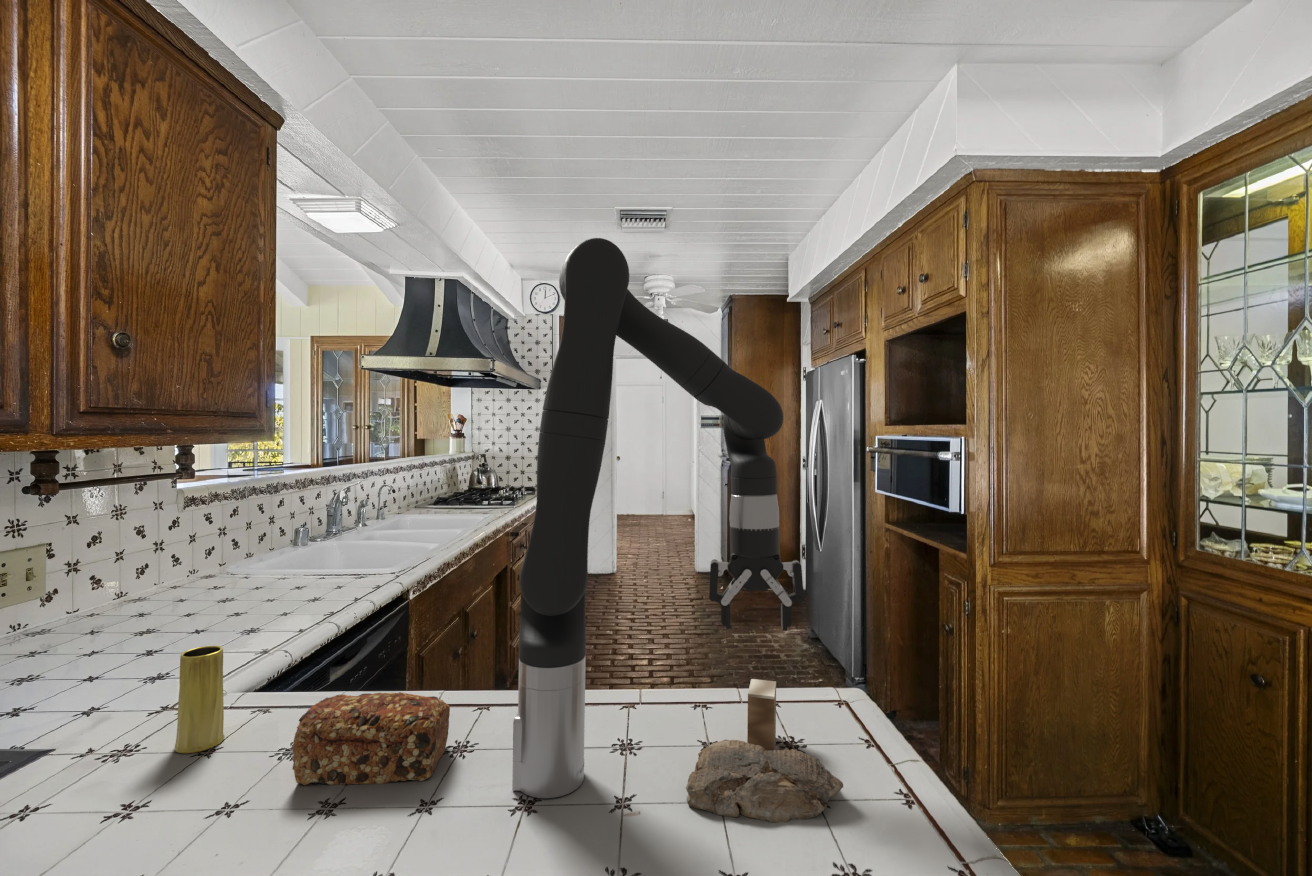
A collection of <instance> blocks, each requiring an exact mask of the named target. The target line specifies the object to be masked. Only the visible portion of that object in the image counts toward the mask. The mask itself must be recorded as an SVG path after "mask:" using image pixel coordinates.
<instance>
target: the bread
mask: <svg viewBox="0 0 1312 876" xmlns="http://www.w3.org/2000/svg"><path fill="white" fill-rule="evenodd" d="M450 709H451V707H450V705H449V704H448V703H447V702H445V701H444V700H443V699H441V698H440V699H439V697H438V696H424V695H420V694H419V695H418V694H412V693H407V692H401V691H399V692H375V693H370V692H369V693H361V694H360V695H348V694H336V695H333V696H330V697H325V698H324V699H322V700H319V701H318V702H317V703H315V704H313V705H312V706H310V707H309V709H307V711H306V712H305V713H304V714H302V715H301V716H300V718H299V719H298V722H299V724H298V725H297V727H296V732H295V733H294V738H293V745H292V754H293V755H292V762H293V765H292V770H293V774H294V779H295V783H297V784H301V785H303V786H308V785H310V784H312V783H313V784H314V783H320V784H324V785H325V784H327V785H331V786H333V785H340V786H344V785H379V784H381V785H382V784H383V785H385V784H388V783H392V782H395V783H396V782H399V781H401V782H406V781H410V780H411V781H420V782H422V781H425V780H427V779H430V778H431V777H432V776H433V774H434V772H435V771H436V768H437V765H438V763H439V760H440V759H441V758H442V757H443V755H444V752H445V751H446V749H447V742H448V737H449V728H450V712H451V711H450Z"/></svg>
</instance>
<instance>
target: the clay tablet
mask: <svg viewBox="0 0 1312 876" xmlns="http://www.w3.org/2000/svg"><path fill="white" fill-rule="evenodd" d="M697 755H698V757H697V758H698V760H697V762H695V768H694V771H692V772H691V773H690V774H689V776H688V779H687V784H686V786H685V790H686V792H687V796H686V802H687V805H688V806H690V807H693V808H694V809H697V810H698V809H700V810H703V811H704V810H705V811H707V812H709V813H713V814H716V815H717V816H725V817H730V818H739V815H740V814H741V815H743V816H744V817H748V818H751V819H757V820H760V821H767V822H771V823H781V822H784V823H788V822H789V821H790V819H793V820H795V819H798V820H800V819H801V820H808V819H810V818H814V817H818V816H819V815H820V814H821V813H823V812H824V811H825V810H826V808H827V807H828V805H827V804H826V803H828V802H829V800H830V799H832V798H833V797H836V795H837V794H838V793H839V792H841V790H842V789H843V788H844V782H843V781H842V780H840V779H839V778H838V777H836V775H835V776H834V775H833V774H832V773H831V772H830V770H828V769H826V767H825V766H824V764H822V762H821V761H820V759H819V758H817V757H815V756H812V755H808V754H807V753H805V752H802V751H800V750H797V749H793V748H792V749H786V748H785V749H775V750H774V751H772V750H770V751H766V750H765V749H764V748H763V747H762V746H759V745H754V744H749V743H747V741H744V740H739V739H722V740H721V741H715V742H713V743H711V744H710V745H709V746H706V747H705V748H703V749H701V751H700V752H698V754H697Z"/></svg>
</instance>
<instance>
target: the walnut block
mask: <svg viewBox="0 0 1312 876" xmlns="http://www.w3.org/2000/svg"><path fill="white" fill-rule="evenodd" d="M776 711H777V681H775V680H774V681H773V680H765V679H756V678H751V679H750V684H749V688H748V692H747V741H746V743H749V744H754V745H759V746H762V747H763V748H764V749H765V750H766V751H770V750H772V751H775V750H776V749H775V747H776V739H777V737H776V734H777V733H776V732H777V726H776V725H777V712H776Z"/></svg>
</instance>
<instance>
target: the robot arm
mask: <svg viewBox="0 0 1312 876" xmlns="http://www.w3.org/2000/svg"><path fill="white" fill-rule="evenodd" d="M629 284H630V269H629V264H628V261H627V259H626V257H625V255H624V253H623V251H622V250H621V249H620V247H618V245H616V244H615V243H614V242H612V241H610V240H608V239H607V238H606V239H605V238H602V237H593V238H589V239H585V240H584V241H582V242H580V243H579V244H577V245H575V247H574V248H572V250H571V251H570V252H569V253H568V255H567V256H566V259H565V261H564V264H563V266H562V267H561V270H560V274H559V278H558V285H559V286H558V287H559V291H560V295H561V297H562V298H563V300H564V306H563V307H564V309H563V321H562V332H561V337H560V343H559V346H558V349H557V353H556V356H555V360H554V362H553V366H552V369H551V373H550V377H549V379H548V383H547V386H546V391H545V395H544V399H543V400H544V401H543V406H542V412H541V418H540V419H541V420H540V424H539V425H540V427H539V433H538V434H539V435H538V445H537V447H538V448H537V460H536V461H537V462H536V464H537V465H536V506H535V513H534V520H533V524H532V528H531V529H532V530H531V533H530V537H529V541H528V546H527V549H526V554H525V556H524V557H523V560H522V563H521V567H520V572H519V579H518V582H519V589H520V617H519V618H520V620H519V635H518V695H517V696H518V698H517V701H518V702H517V713H516V715H515V717H514V718H513V723H512V725H513V727H512V729H513V733H512V780H511V781H512V784H511V786H512V788H511V789H512V791H518V792H522V793H523V794H524V795H526V796H530V797H532V798H537V799H554V798H559V797H564V796H566V795H568V794H570V793H572V792H574V791H575V790H577V789H578V788H579V787H580V786H581V785H582V783H583V781H584V777H585V731H586V730H585V728H586V726H585V719H586V714H585V713H586V661H587V660H586V652H587V651H586V650H587V649H586V648H587V646H586V644H587V633H586V632H587V631H586V590H587V586H588V581H589V579H588V578H589V572H588V562H589V561H588V560H589V558H588V557H589V550H588V549H589V532H590V519H591V511H592V507H593V503H594V498H595V497H594V496H595V493H596V491H597V487H598V482H599V478H600V477H599V476H600V472H601V467H602V464H603V463H602V461H603V456H604V451H605V446H606V440H607V439H606V438H607V434H608V433H607V431H608V425H609V419H610V418H609V417H610V408H611V407H610V406H611V395H612V384H613V375H614V374H613V370H614V355H615V354H614V353H615V344H616V343H615V342H616V339H617V337H618V338H619V339H621V340H623V342H625V343H626V344H628V345H629V346H630V347H632V348H634V349H635V350H636V351H638V352H639V353H640V354H641V355H642V356H644V357H646V358H647V360H649V362H651V363H653V365H655V366H656V367H657V368H659V369H660V370H661V371H662V372H663V373H665V374H666V376H668V377H669V378H670V379H671V380H673V381H674V382H675V383H676V384H677V385H679V386H680V387H681V388H682V389H684V390H685V391H686V392H687V393H689V395H690V396H692V397H693V398H694V399H695V400H696V401H698V402H700V403H701V404H703V405H704V406H708V407H712V408H715V409H717V410H718V411H720V412H721V413H722V414H723V418H722V420H723V422H722V423H723V424H722V428H723V437H724V441H725V446H726V451H727V456H728V461H729V464H730V503H729V516H728V518H729V519H728V521H729V546H730V547H729V548H730V549H729V550H730V551H729V552H730V557H729V559H728V561H718V560H717V559H712V560H711V561H710V568H709V569H710V571H709V572H710V573H709V595H708V596H709V597H708V598H709V600H710V601H711V602H716V603H718V604H719V605H720V616H721V617H720V618H721V620H720V621H721V625H722V626H723V627H725V630H726V631H729V630H732V629H731V601H732V600H733V598H734V597H735V596H736V595H737V594H738V593H739V592H740V591H741V590H742V589H743V590H745V591H747V592H749V591H750V592H751V591H755V590H757V591H760V592H763V591H764V592H765V591H767V590H769V589H771V590H772V591H773V592H774V593H775V596H777V597H778V598H779V600H780V601H781V602H780V627H781V631H783V632H787V631H788V628H790V627H791V626H792V624H793V623H792V620H793V619H792V606H793V605H795V604H797V603H803V602H804V600H805V594H804V593H805V592H804V582H803V570H802V564H801V563H800V561H799V560H798V559H794V560H792V561H786V562H785V561H784V562H782V559H781V551H780V550H781V548H780V542H781V541H780V508H779V501H778V494H777V493H778V483H777V482H778V477H777V473H778V472H777V465H776V462H775V460H774V458H772V457H771V456H769V455H768V453H767V449H766V448H767V447H766V441H765V440H766V439H769V438H772V437H773V436H776V434H777V433H778V432H779V431H781V428H782V427H783V423H784V411H783V408H782V406H781V405H780V403H779V401H778V400H777V399H776V397H775V396H774V395H773V394H772V393H771V392H769V391H768V390H767V389H765V387H762V386H761V385H760V384H758V383H756V382H754V381H753V380H751V378H748V377H746V376H745V375H743V374H741V373H739V372H737V371H736V370H734V369H733V368H731V367H730V366H729V365H728V364H727V363H726V362H725V361H724V360H723V359H722V358H721V357H720V356H718V355H717V354H716V353H715V352H714V351H713V350H711V349H710V348H709V347H708V346H706V345H705V344H704V343H703V342H702V341H700V340H699V339H698V338H697V337H695V336H693V335H692V334H690V333H688V332H687V331H685V330H684V329H682V328H680V327H678V326H676V325H674V324H672V323H671V322H669V321H667V320H665V319H664V318H662V317H661V316H659V315H657V314H656V313H655V312H653V311H652V310H650V309H649V308H648V307H647V306H646V305H644V304H643V303H642V302H641V301H640V300H639V299H637V298H636V297H635V296H634V294H633V293H632V292H631V291H630V290H629V289H628V288H629ZM725 570H728V573H730V575H731V576H732V580H731V581H730V583H729V584H728V586H727V588H726V589H725V591H723V593H722V592H719V591H718V588H719V587H718V586H719V585H718V584H719V583H718V581H719V577H721V576H723V575H724V572H725ZM784 570H785V572H787V574H788V575H787V576H789V577H791V578H792V588H793V592H791V593H788V592H786V590H785V589H784V587H783V586H782V585H781V583H780V582H779V581H778V578H779V577H780V575H781V574H782V573H783V571H784Z"/></svg>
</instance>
